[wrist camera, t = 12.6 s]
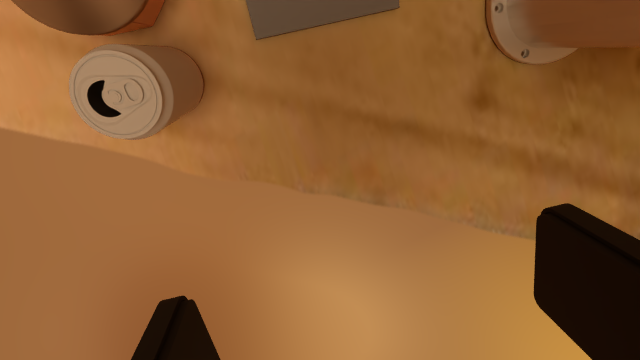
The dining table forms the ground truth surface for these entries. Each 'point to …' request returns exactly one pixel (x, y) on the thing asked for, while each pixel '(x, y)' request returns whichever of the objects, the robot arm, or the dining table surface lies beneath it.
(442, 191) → the dining table surface
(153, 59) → the beverage can
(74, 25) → the lid
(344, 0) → the mat
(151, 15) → the bowl
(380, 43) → the dining table surface
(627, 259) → the robot arm
